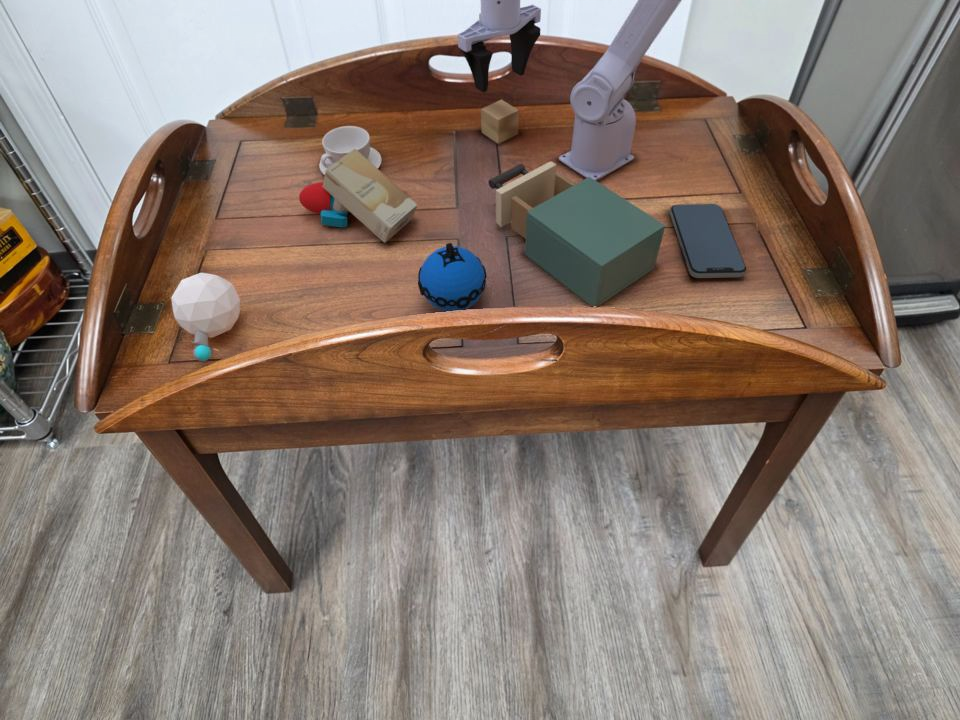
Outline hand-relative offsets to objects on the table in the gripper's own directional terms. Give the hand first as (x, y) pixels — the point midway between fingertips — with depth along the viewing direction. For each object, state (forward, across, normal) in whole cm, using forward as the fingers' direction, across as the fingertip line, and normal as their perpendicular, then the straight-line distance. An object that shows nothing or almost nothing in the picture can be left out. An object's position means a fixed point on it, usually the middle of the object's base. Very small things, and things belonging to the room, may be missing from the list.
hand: (500, 81), depth 102 cm
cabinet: (+9, +11, +32) cm, 35 cm away
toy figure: (+10, +30, +1) cm, 32 cm away
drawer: (+8, +11, +22) cm, 26 cm away
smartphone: (+9, -4, +40) cm, 41 cm away
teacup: (+10, +24, -9) cm, 27 cm away
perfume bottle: (+10, +57, +11) cm, 59 cm away
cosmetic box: (+7, +27, +11) cm, 30 cm away
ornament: (+9, +30, +26) cm, 41 cm away
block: (+9, 0, 0) cm, 9 cm away
